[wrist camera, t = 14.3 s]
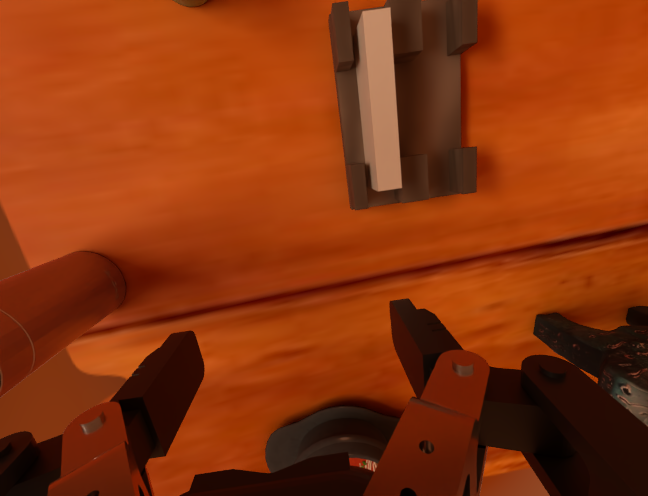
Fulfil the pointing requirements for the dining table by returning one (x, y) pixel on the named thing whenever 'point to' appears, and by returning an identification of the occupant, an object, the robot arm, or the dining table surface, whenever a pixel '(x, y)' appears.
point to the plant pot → (190, 2)
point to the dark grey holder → (411, 99)
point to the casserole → (332, 437)
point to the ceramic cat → (606, 354)
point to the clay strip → (378, 99)
